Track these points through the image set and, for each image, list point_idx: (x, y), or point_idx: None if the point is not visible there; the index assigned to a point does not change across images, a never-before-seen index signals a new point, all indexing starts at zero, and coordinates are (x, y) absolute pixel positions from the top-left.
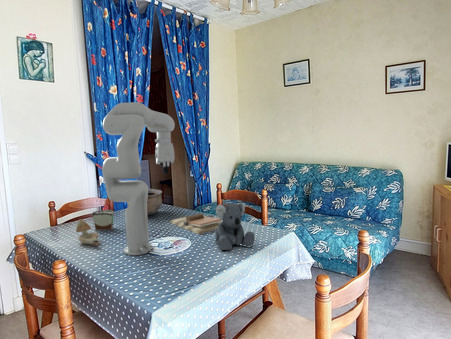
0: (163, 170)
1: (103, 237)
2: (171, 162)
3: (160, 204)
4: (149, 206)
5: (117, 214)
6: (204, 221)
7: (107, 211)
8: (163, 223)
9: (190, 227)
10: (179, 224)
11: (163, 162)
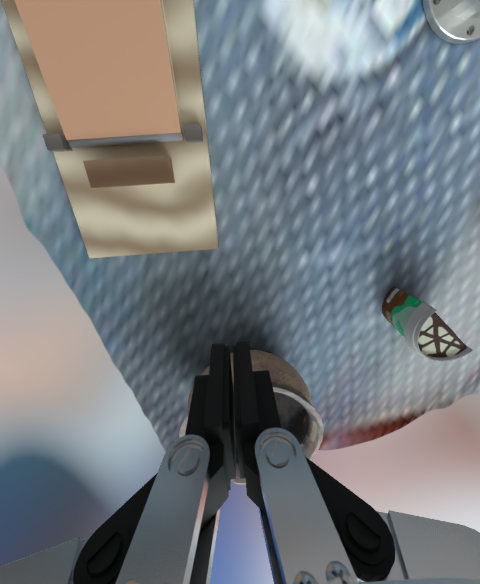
0: (272, 393)
1: (450, 231)
2: (59, 564)
3: (205, 370)
4: (257, 356)
5: None
6: (117, 34)
7: (420, 348)
8: (242, 252)
9: (193, 79)
10: (210, 173)
11: (328, 560)
